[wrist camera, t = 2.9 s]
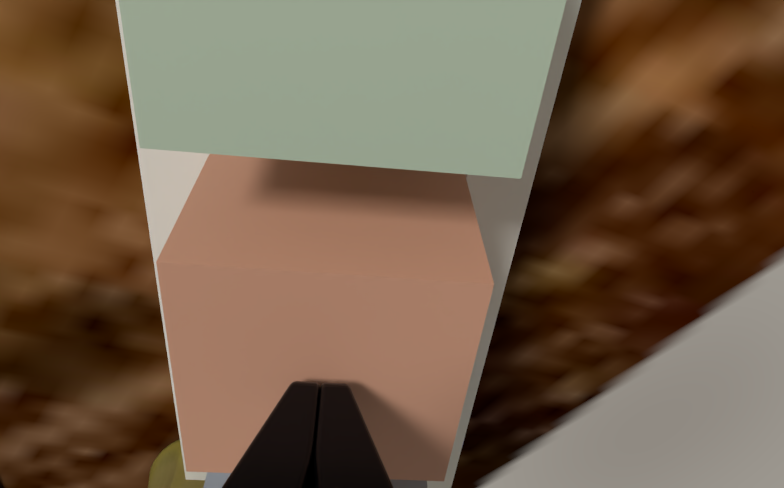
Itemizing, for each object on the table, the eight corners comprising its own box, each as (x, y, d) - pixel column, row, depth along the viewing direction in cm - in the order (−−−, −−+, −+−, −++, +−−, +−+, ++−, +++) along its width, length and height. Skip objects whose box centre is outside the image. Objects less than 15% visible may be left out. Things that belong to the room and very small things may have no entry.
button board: (203, 415, 20) (185, 479, 18) (115, -403, 9) (47, -463, 7) (443, 426, 21) (450, 489, 19) (618, -326, 10) (678, -364, 8)
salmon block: (239, 285, 14) (186, 471, 10) (230, 109, 12) (156, 262, 8) (423, 297, 15) (444, 481, 11) (452, 129, 12) (494, 284, 8)
